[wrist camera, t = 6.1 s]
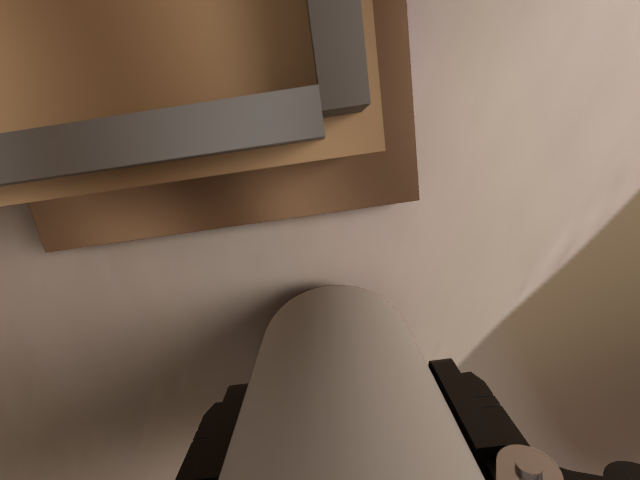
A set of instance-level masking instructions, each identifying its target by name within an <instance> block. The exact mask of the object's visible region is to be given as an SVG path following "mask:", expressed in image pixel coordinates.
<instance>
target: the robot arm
mask: <svg viewBox="0 0 640 480" xmlns="http://www.w3.org/2000/svg"><path fill="white" fill-rule="evenodd" d="M428 366H429V369H430V371H431V373H432V375H433V377H434V379H435V381H436V383H437V385H438V387H439V389H440V391H441V393H442V395H443V397H444V399H445V401H446V403H447V405H448V407H449V409H450V411H451V413H452V415H453V417H454V419H455V421H456V423H457V425H458V427H459V429H460V431H461V433H462V435H463V437H464V439H465V441H466V443H467V445H468V447H469V449H470V451H471V453H472V455H473V457H474V459H475V461H476V463H477V465H478V467H479V469H480V471H481V473H482V475H483V477H484V479H485V480H640V464H637V463H633V462H627V461H616V462H613V463H610V464H608V465H607V466H606V467H605V469H604V472H603V476H598V475H592V474H587V473H581V472H575V471H571V470H567V469H564V468H561V467H558V466H557V464H556V463H555V462H554V461H553V460H552V459H551V458H550V457H549V456H547V455H546V454H544V453H543V452H541V451H539V450H537V449H535V448H532V447H530V445H529V444H528V443H527V441H526V440H525V438H524V437H523V435H522V434H521V433H520V431H519V430H518V428H517V427H516V426H515V424H514V423H513V421H512V420H511V419H510V417H509V416H508V414H507V413H506V411H505V410H504V409H503V407H502V406H500V403H499V402H498V400H497V399H496V398H495V396H493V393H492V392H491V390H490V389H489V387H488V386H487V385H486V383H485V382H484V381H483V380H482V379H480V378H479V377H477V376H476V375H474V374H473V373H472V372H465V373H460V371H459V369H458V368H457V366H456V365H455V363H454V361H453V360H452V359H451V358H449V359H441V360H433V361H429V365H428ZM248 384H249V383H247V384H239V385H231V386H229V387H228V389H227V392H226V394H225V397H224V400H223V402H220V403H214V405H213V406H212V407H211V408H210V409H209V410H208V411H207V412H206V413H205V415H204V416H203V418H202V421H201V423H200V425H199V427H198V431H197V432H196V434H195V436H194V439H193V442H192V443H191V445H190V448H189V450H188V452H187V454H186V457H185V459H184V461H183V463H182V466H181V468H180V470H179V472H178V475H177V477H176V479H175V480H218V479H219V476H220V473H221V470H222V467H223V464H224V460H225V457H226V454H227V451H228V448H229V444H230V441H231V438H232V435H233V432H234V429H235V425H236V422H237V419H238V416H239V413H240V410H241V406H242V403H243V400H244V397H245V394H246V390H247V387H248Z"/></svg>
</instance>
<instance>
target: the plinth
mask: <svg viewBox="0 0 640 480" xmlns="http://www.w3.org/2000/svg"><path fill="white" fill-rule="evenodd" d="M417 200H419V185H418V170H417V155H416V140H415V125H414V110H413V95H412V80H411V64H410V49H409V34H408V19H407V4H406V0H0V207H2V206H8V205H15V204H22V203H28V205H29V208H30V211H31V213H32V216H33V219H34V222H35V224H36V227H37V230H38V233H39V235H40V238H41V241H42V244H43V246H44V249H45V252H52V251H59V250H66V249H74V248H81V247H88V246H95V245H102V244H109V243H117V242H124V241H131V240H138V239H145V238H152V237H159V236H167V235H174V234H181V233H188V232H195V231H202V230H209V229H217V228H224V227H231V226H238V225H245V224H252V223H260V222H267V221H274V220H281V219H288V218H295V217H302V216H310V215H317V214H324V213H331V212H338V211H345V210H353V209H360V208H367V207H374V206H381V205H388V204H395V203H403V202H410V201H417Z"/></svg>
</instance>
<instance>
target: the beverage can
mask: <svg viewBox="0 0 640 480" xmlns="http://www.w3.org/2000/svg"><path fill="white" fill-rule="evenodd" d="M218 480H485V479H484V477H483V475H482V473H481V471H480V469H479V467H478V465H477V463H476V461H475V459H474V457H473V455H472V453H471V451H470V449H469V447H468V445H467V443H466V441H465V439H464V437H463V435H462V433H461V431H460V429H459V427H458V425H457V423H456V421H455V419H454V417H453V415H452V413H451V411H450V409H449V407H448V405H447V403H446V401H445V399H444V397H443V395H442V393H441V391H440V389H439V387H438V385H437V383H436V381H435V379H434V377H433V375H432V373H431V371H430V369H429V367H428V365H427V363H426V361H425V359H424V357H423V355H422V353H421V351H420V349H419V347H418V345H417V343H416V341H415V339H414V337H413V335H412V333H411V331H410V329H409V327H408V325H407V323H406V321H405V320H404V318H403V317H402V315H401V314H400V313H399V312H398V310H397V309H396V308H395V307H394V306H393V305H391V304H390V303H389V302H388V301H386V300H385V299H383V298H382V297H380V296H378V295H377V294H375V293H372V292H370V291H368V290H365V289H362V288H358V287H353V286H346V285H329V286H323V287H318V288H314V289H311V290H309V291H306V292H304V293H301V294H300V295H298V296H296V297H294V298H293V299H291V300H290V301H289V302H287V303H286V304H285V305H284V306H283V307H282V308H281V309H280V310H279V311H278V312H277V313H276V314H275V316H274V317H273V318H272V320H271V321H270V323H269V325H268V327H267V329H266V331H265V334H264V336H263V340H262V343H261V346H260V349H259V352H258V356H257V359H256V362H255V365H254V368H253V371H252V375H251V378H250V381H249V384H248V387H247V390H246V394H245V397H244V400H243V403H242V406H241V410H240V413H239V416H238V419H237V422H236V425H235V429H234V432H233V435H232V438H231V441H230V444H229V448H228V451H227V454H226V457H225V460H224V464H223V467H222V470H221V473H220V476H219V479H218Z"/></svg>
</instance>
